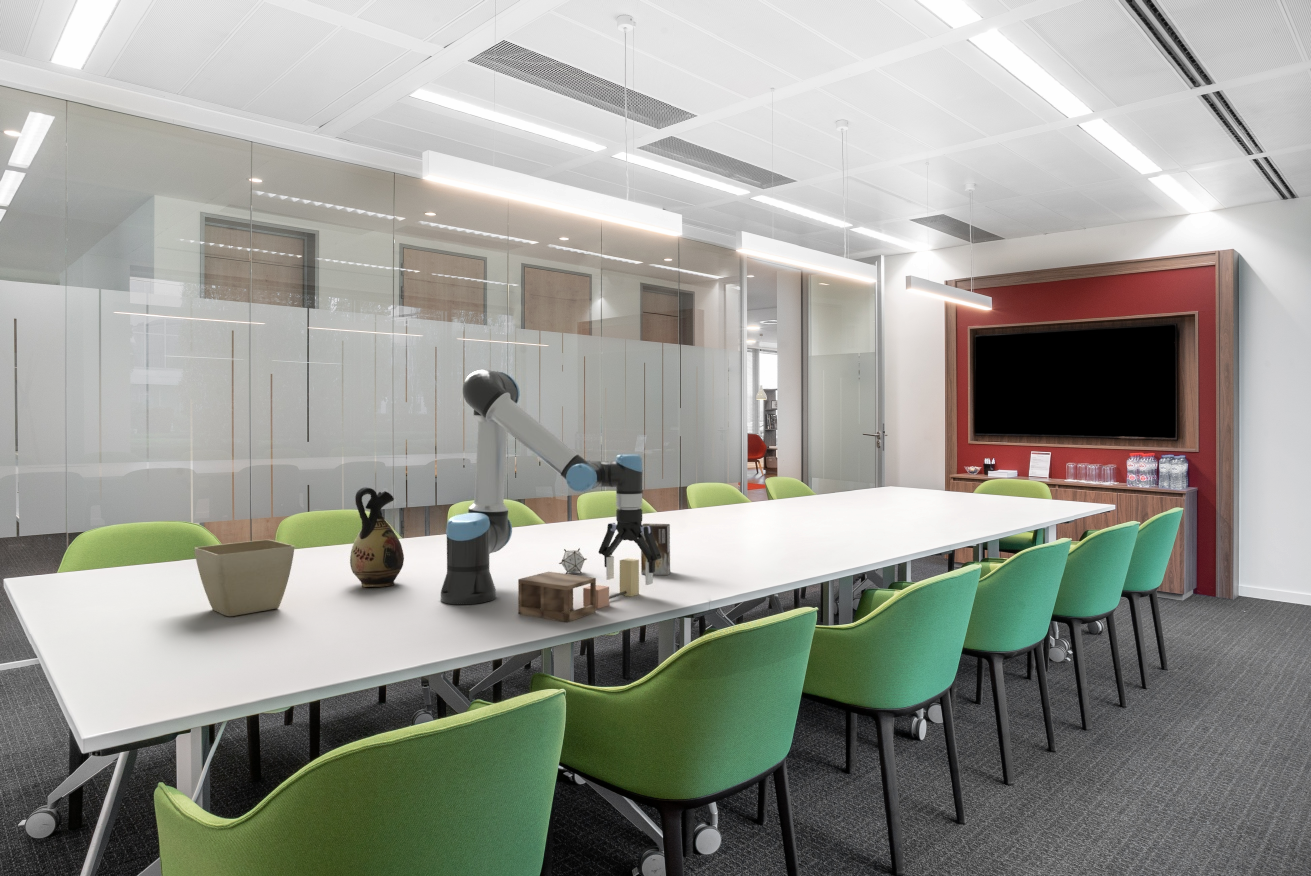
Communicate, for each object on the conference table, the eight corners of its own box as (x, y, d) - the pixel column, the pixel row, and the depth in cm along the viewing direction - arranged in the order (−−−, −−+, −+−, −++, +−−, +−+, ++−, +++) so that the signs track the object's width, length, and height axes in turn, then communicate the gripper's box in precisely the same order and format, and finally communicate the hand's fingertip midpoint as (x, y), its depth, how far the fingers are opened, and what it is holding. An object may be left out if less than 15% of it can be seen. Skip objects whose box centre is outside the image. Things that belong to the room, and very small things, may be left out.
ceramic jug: (383, 577, 245) (383, 484, 245) (414, 583, 236) (413, 486, 236) (334, 586, 232) (333, 487, 231) (364, 593, 223) (364, 490, 222)
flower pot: (193, 609, 204) (192, 546, 203) (268, 597, 217) (268, 538, 217) (218, 622, 191) (217, 554, 190) (296, 609, 205) (296, 545, 204)
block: (626, 592, 225) (626, 558, 225) (640, 594, 222) (640, 559, 222) (583, 606, 208) (583, 569, 207) (598, 608, 205) (598, 571, 205)
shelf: (548, 604, 210) (548, 571, 209) (595, 612, 201) (595, 577, 201) (518, 613, 199) (518, 579, 199) (566, 622, 191) (566, 586, 191)
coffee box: (671, 571, 256) (671, 523, 255) (668, 575, 249) (668, 526, 249) (643, 570, 257) (643, 522, 257) (640, 574, 251) (640, 525, 250)
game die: (576, 585, 252) (580, 564, 246) (553, 575, 253) (556, 554, 247) (588, 567, 259) (592, 547, 253) (565, 558, 260) (569, 537, 254)
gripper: (673, 509, 218) (673, 583, 218) (602, 504, 231) (602, 574, 232) (659, 512, 212) (659, 588, 212) (586, 506, 225) (586, 578, 225)
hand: (629, 581), depth 222 cm, fingers open, 13 cm apart
